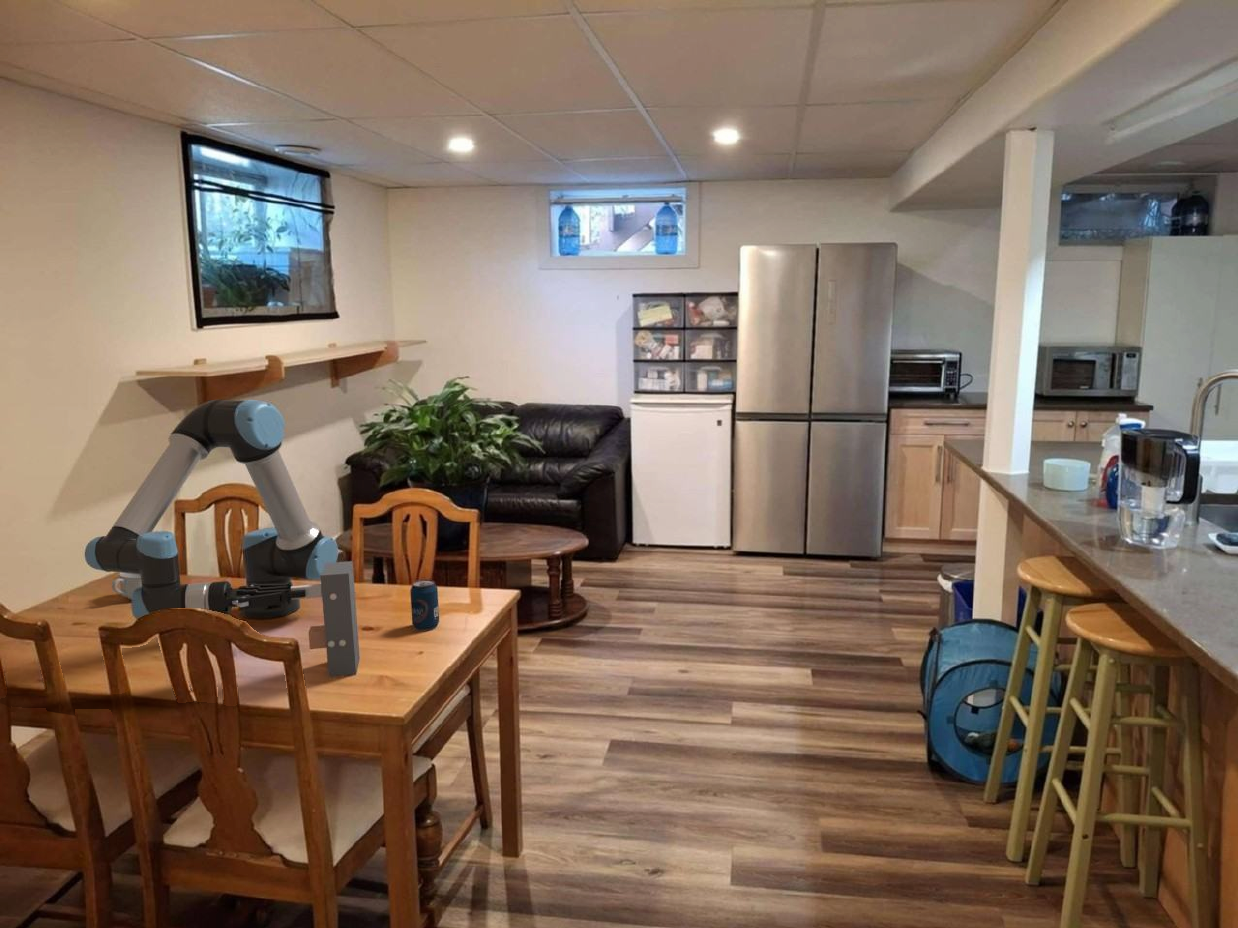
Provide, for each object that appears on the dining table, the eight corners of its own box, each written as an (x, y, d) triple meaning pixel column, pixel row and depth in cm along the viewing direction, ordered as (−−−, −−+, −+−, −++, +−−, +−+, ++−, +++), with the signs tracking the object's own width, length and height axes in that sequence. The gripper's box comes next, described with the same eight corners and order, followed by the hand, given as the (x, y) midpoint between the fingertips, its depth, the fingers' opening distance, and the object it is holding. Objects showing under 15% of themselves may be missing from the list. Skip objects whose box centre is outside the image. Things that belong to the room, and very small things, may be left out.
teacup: (151, 589, 266) (148, 563, 265) (170, 595, 260) (167, 569, 259) (103, 601, 255) (100, 575, 254) (121, 608, 249) (118, 581, 248)
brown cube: (309, 649, 200) (308, 632, 199) (312, 642, 204) (310, 626, 203) (328, 647, 201) (326, 630, 200) (330, 641, 205) (328, 624, 204)
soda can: (407, 629, 228) (404, 585, 226) (422, 620, 234) (419, 577, 232) (430, 632, 226) (427, 587, 224) (444, 623, 232) (442, 580, 230)
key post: (328, 678, 198) (320, 576, 194) (333, 660, 209) (325, 563, 204) (356, 675, 200) (348, 574, 196) (359, 658, 210) (352, 561, 206)
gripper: (219, 605, 203) (326, 597, 207) (205, 625, 190) (319, 615, 195) (216, 574, 201) (323, 566, 206) (201, 591, 189) (316, 583, 193)
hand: (321, 590), depth 200 cm, fingers closed
